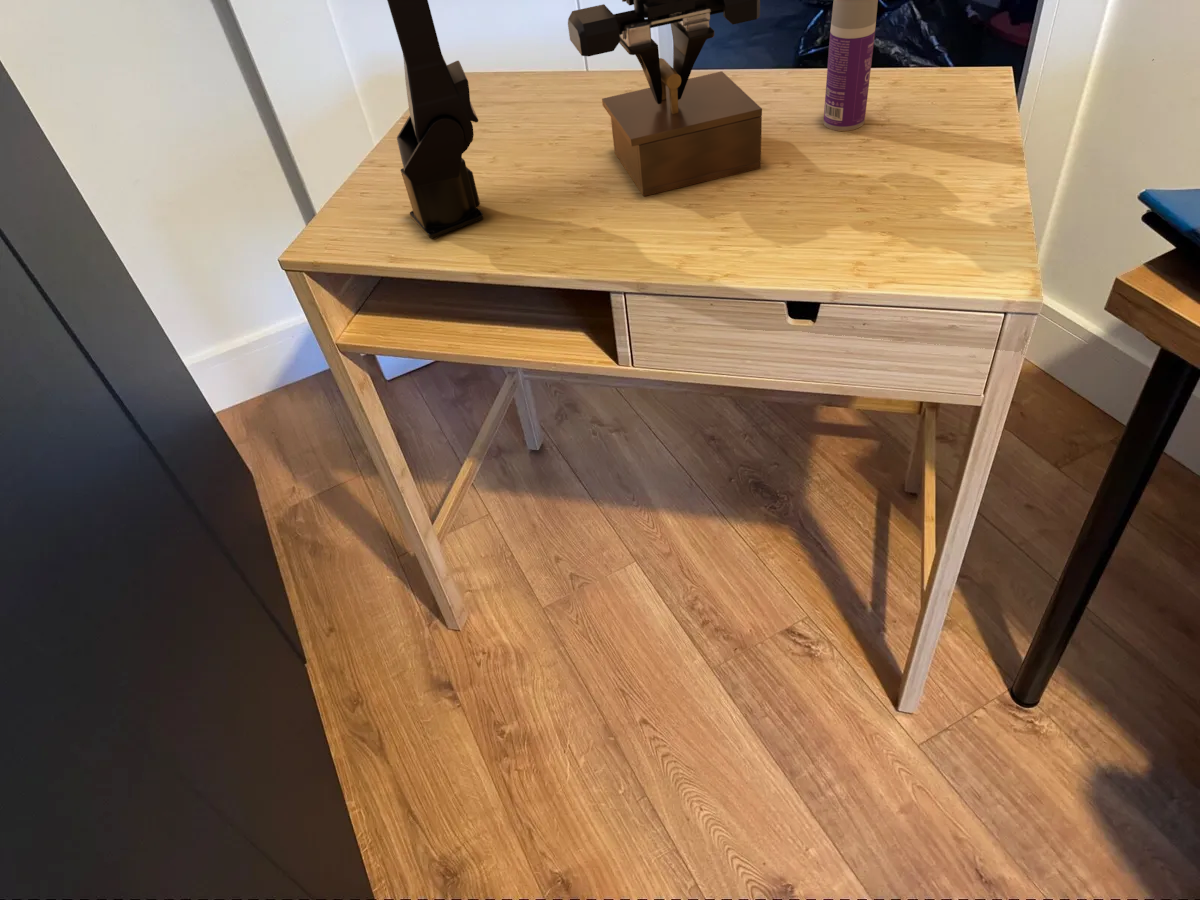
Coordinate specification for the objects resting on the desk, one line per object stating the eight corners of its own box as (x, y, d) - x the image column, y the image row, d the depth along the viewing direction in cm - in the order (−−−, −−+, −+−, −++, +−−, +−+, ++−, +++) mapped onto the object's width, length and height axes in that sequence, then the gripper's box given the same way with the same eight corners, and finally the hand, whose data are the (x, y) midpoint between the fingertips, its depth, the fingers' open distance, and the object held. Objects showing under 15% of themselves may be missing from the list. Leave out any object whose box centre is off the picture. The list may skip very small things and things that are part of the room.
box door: (631, 146, 85) (627, 98, 81) (602, 105, 93) (597, 59, 89) (762, 116, 86) (763, 67, 83) (722, 78, 94) (721, 32, 91)
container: (868, 128, 94) (885, -15, 83) (826, 133, 94) (838, -10, 84) (860, 111, 97) (875, -29, 87) (819, 115, 98) (830, -24, 87)
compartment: (643, 196, 89) (639, 145, 85) (614, 153, 97) (609, 104, 93) (760, 168, 90) (762, 116, 86) (722, 127, 98) (722, 78, 94)
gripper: (720, -100, 84) (722, 57, 95) (545, -64, 82) (567, 92, 93) (764, -77, 76) (760, 92, 87) (571, -37, 74) (592, 130, 85)
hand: (668, 100), depth 88 cm, fingers closed
